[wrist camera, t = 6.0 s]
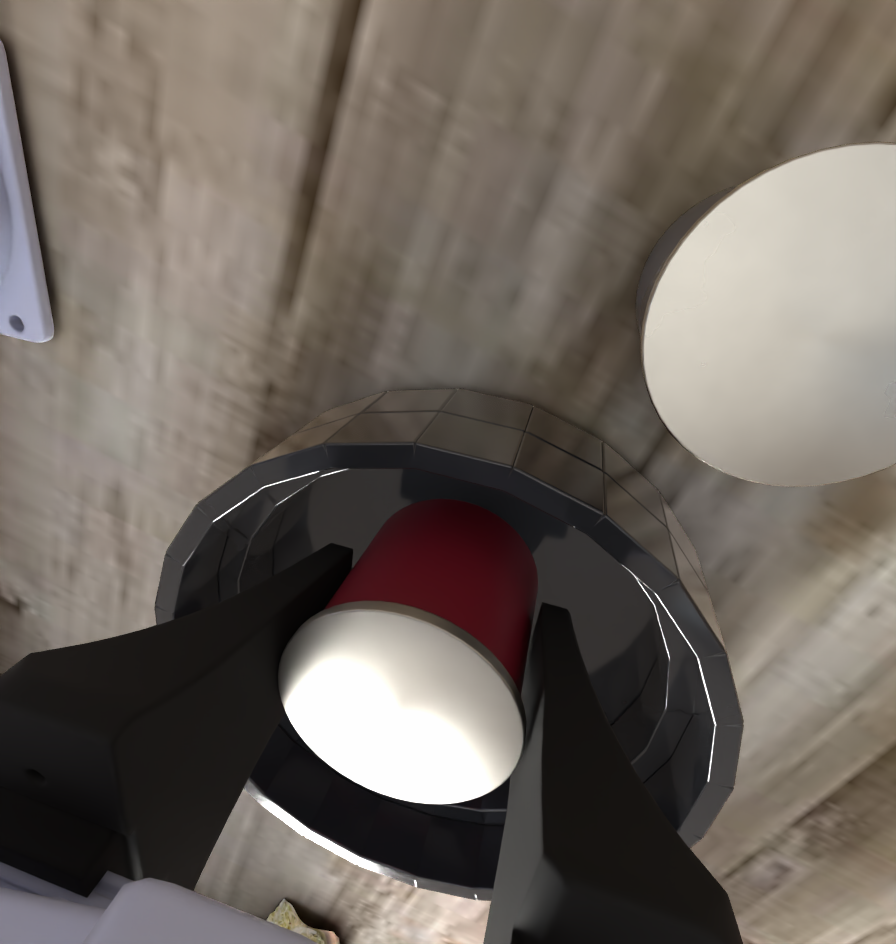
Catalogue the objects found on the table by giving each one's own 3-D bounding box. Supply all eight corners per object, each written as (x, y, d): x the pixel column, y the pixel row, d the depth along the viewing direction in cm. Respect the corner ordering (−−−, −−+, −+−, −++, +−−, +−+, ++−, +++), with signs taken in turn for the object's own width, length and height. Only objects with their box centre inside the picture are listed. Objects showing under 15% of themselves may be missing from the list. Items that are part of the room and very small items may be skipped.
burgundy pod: (359, 617, 16) (275, 757, 12) (374, 469, 14) (278, 577, 10) (523, 667, 15) (496, 834, 11) (567, 519, 13) (553, 660, 9)
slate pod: (601, 377, 14) (603, 448, 10) (666, 153, 12) (707, 115, 7) (809, 422, 13) (911, 519, 9) (922, 191, 11) (1131, 174, 7)
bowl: (250, 697, 23) (176, 799, 19) (243, 333, 16) (124, 371, 12) (618, 820, 20) (623, 965, 16) (797, 457, 13) (881, 556, 10)
